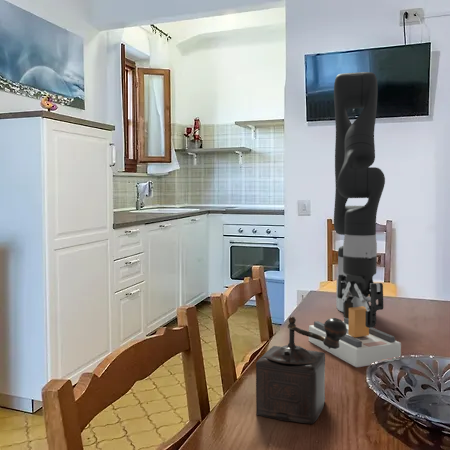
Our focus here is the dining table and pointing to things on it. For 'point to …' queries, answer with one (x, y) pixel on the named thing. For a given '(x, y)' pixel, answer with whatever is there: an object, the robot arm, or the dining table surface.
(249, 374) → the dining table surface
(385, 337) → the pair of grey rails
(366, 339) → the breaker panel
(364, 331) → the block
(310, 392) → the manual coffee grinder
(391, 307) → the dining table surface
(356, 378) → the dining table surface
